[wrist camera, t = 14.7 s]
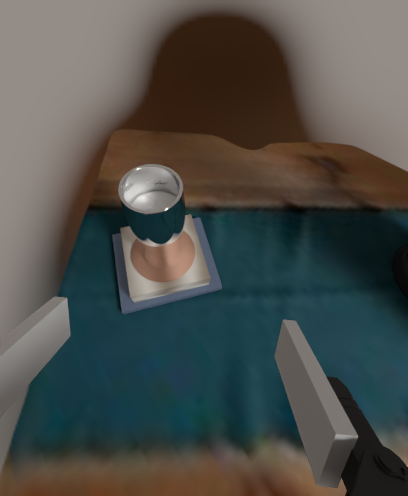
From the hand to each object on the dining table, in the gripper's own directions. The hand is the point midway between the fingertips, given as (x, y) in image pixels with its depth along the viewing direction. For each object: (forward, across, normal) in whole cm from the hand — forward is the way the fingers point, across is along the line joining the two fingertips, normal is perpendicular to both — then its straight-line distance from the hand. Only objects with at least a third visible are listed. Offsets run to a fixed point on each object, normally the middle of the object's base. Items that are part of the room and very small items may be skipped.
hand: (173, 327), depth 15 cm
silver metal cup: (+23, -5, -4) cm, 24 cm away
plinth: (+26, -5, -6) cm, 27 cm away
